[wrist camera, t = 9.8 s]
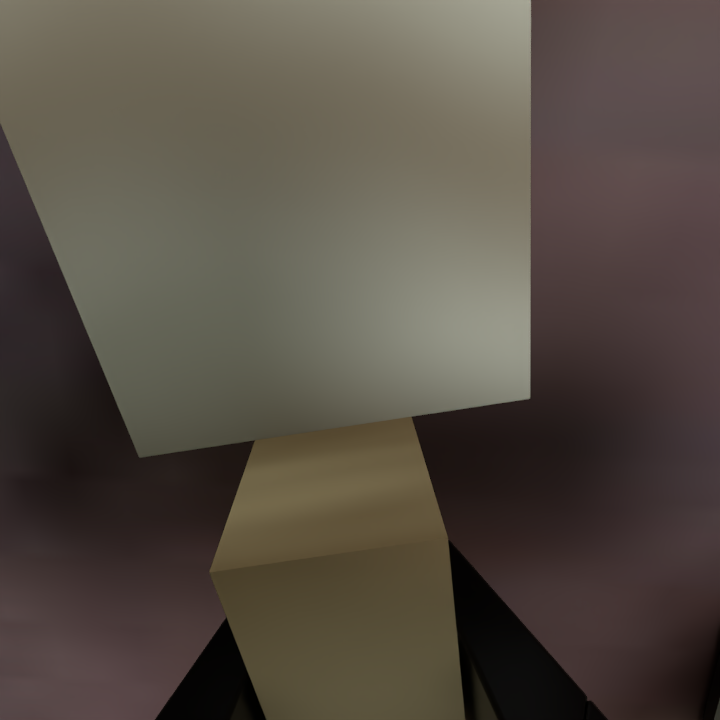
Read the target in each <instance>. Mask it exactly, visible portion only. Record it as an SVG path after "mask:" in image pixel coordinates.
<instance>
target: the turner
mask: <svg viewBox="0 0 720 720" xmlns="http://www.w3.org/2000/svg"><path fill="white" fill-rule="evenodd" d="M0 123H1V126H2V128H3V131H4V133H5V135H6V138H7V140H8V143H9V145H10V147H11V150H12V152H13V155H14V157H15V159H16V162H17V164H18V167H19V169H20V172H21V174H22V176H23V179H24V181H25V184H26V186H27V188H28V191H29V193H30V196H31V198H32V200H33V203H34V205H35V208H36V210H37V213H38V215H39V217H40V220H41V222H42V225H43V227H44V229H45V232H46V234H47V237H48V239H49V241H50V244H51V246H52V249H53V251H54V254H55V256H56V258H57V261H58V263H59V266H60V268H61V270H62V273H63V275H64V278H65V280H66V282H67V285H68V287H69V290H70V292H71V294H72V297H73V299H74V302H75V304H76V307H77V309H78V311H79V314H80V316H81V319H82V321H83V323H84V326H85V328H86V331H87V333H88V335H89V338H90V340H91V343H92V345H93V348H94V350H95V352H96V355H97V357H98V360H99V362H100V364H101V367H102V369H103V372H104V374H105V376H106V379H107V381H108V384H109V386H110V389H111V391H112V393H113V396H114V398H115V401H116V403H117V405H118V408H119V410H120V413H121V415H122V417H123V420H124V422H125V425H126V427H127V429H128V432H129V434H130V437H131V439H132V442H133V444H134V446H135V449H136V451H137V454H138V456H139V458H141V457H147V456H154V455H161V454H167V453H174V452H181V451H187V450H194V449H200V448H207V447H214V446H220V445H227V444H234V443H240V442H247V441H253V440H255V442H254V444H253V447H252V450H251V453H250V456H249V459H248V462H247V465H246V468H245V470H244V473H243V476H242V479H241V482H240V485H239V488H238V491H237V493H236V496H235V499H234V502H233V505H232V508H231V511H230V514H229V517H228V519H227V522H226V525H225V528H224V531H223V534H222V537H221V540H220V542H219V545H218V548H217V551H216V554H215V557H214V560H213V563H212V566H211V568H210V571H209V573H210V576H211V578H212V581H213V584H214V586H215V589H216V591H217V594H218V596H219V599H220V602H221V604H222V607H223V609H224V612H225V614H226V617H227V620H228V622H229V625H230V627H231V630H232V633H233V635H234V638H235V640H236V643H237V645H238V648H239V651H240V653H241V656H242V658H243V661H244V663H245V666H246V669H247V671H248V674H249V676H250V679H251V682H252V684H253V687H254V689H255V692H256V694H257V697H258V700H259V702H260V705H261V707H262V710H263V712H264V715H265V718H266V720H465V714H464V703H463V692H462V682H461V671H460V661H459V650H458V639H457V629H456V618H455V608H454V597H453V586H452V576H451V565H450V555H449V544H448V536H447V533H446V530H445V526H444V523H443V520H442V516H441V513H440V510H439V507H438V503H437V500H436V497H435V493H434V490H433V487H432V483H431V480H430V477H429V473H428V470H427V467H426V463H425V460H424V457H423V453H422V450H421V447H420V444H419V440H418V437H417V434H416V430H415V427H414V424H413V420H412V416H419V415H426V414H432V413H439V412H445V411H452V410H459V409H465V408H472V407H479V406H485V405H492V404H498V403H505V402H512V401H518V400H525V399H530V277H531V0H0Z"/></svg>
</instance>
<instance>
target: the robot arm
mask: <svg viewBox="0 0 720 720" xmlns="http://www.w3.org/2000/svg"><path fill="white" fill-rule="evenodd" d="M448 544H449V555H450V565H451V576H452V586H453V597H454V608H455V618H456V629H457V639H458V650H459V661H460V671H461V682H462V692H463V703H464V714H465V719H466V720H608V719H607V718H606V717H605V716H604V714H603V713H602V712H601V711H600V710H599V709H598V708H597V706H596V705H595V704H594V703H593V702H592V701H587V696H586V694H585V693H584V692H583V691H582V690H581V689H580V688H579V686H578V685H577V684H576V683H575V682H574V681H573V680H572V678H571V677H570V676H569V675H568V674H567V673H566V672H565V671H564V669H563V668H562V667H561V666H560V665H559V664H558V663H557V661H556V660H555V659H554V658H553V657H552V656H551V655H550V654H549V652H548V651H547V650H546V649H545V648H544V647H543V646H542V644H541V643H540V642H539V641H538V640H537V639H536V638H535V637H534V635H533V634H532V633H531V632H530V631H529V630H528V629H527V627H526V626H525V625H524V624H523V623H522V622H521V621H520V619H519V618H518V617H517V616H516V615H515V614H514V613H513V612H512V610H511V609H510V608H509V607H508V606H507V605H506V604H505V602H504V601H503V600H502V599H501V598H500V597H499V596H498V595H497V593H496V592H495V591H494V590H493V589H492V588H491V587H490V585H489V584H488V583H487V582H486V581H485V580H484V579H483V578H482V576H481V575H480V574H479V573H478V572H477V571H476V570H475V568H474V567H473V566H472V565H471V564H470V563H469V562H468V561H467V559H466V558H465V557H464V556H463V555H462V554H461V553H460V551H459V550H458V549H457V548H456V547H455V546H454V545H453V544H452V542H451V541H449V540H448ZM155 720H266V718H265V715H264V712H263V710H262V707H261V705H260V702H259V700H258V697H257V694H256V692H255V689H254V687H253V684H252V682H251V679H250V676H249V674H248V671H247V669H246V666H245V663H244V661H243V658H242V656H241V653H240V651H239V648H238V645H237V643H236V640H235V638H234V635H233V633H232V630H231V627H230V625H229V622H228V620H227V617H226V619H225V620H224V622H223V623H222V624H221V626H220V627H219V629H218V630H217V632H216V633H215V634H214V636H213V637H212V639H211V640H210V642H209V643H208V644H207V646H206V647H205V649H204V650H203V652H202V653H201V655H200V656H199V657H198V659H197V660H196V662H195V663H194V665H193V666H192V667H191V669H190V670H189V672H188V673H187V675H186V676H185V677H184V679H183V680H182V682H181V683H180V685H179V686H178V687H177V689H176V690H175V692H174V693H173V695H172V696H171V697H170V699H169V700H168V702H167V703H166V705H165V706H164V707H163V709H162V710H161V712H160V713H159V715H158V716H157V717H156V719H155ZM703 720H720V654H719V658H718V662H717V666H716V670H715V673H714V677H713V681H712V685H711V689H710V693H709V697H708V701H707V704H706V708H705V712H704V716H703Z"/></svg>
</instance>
